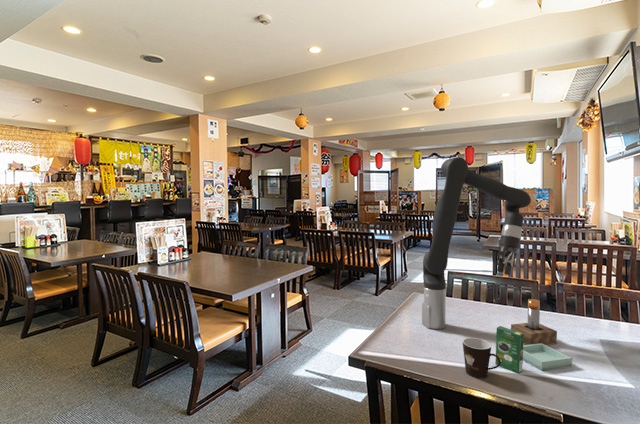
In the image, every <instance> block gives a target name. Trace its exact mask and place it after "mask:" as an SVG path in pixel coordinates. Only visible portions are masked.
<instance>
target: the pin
mask: <svg viewBox="0 0 640 424" xmlns="http://www.w3.org/2000/svg"><path fill="white" fill-rule="evenodd" d="M540 311H541V301H540V300H539V299H534V298H528V299H527V323H528V329H530V330H533V331H536V330H539V324H540V314H541V313H540Z"/></svg>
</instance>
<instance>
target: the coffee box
mask: <svg viewBox="0 0 640 424" xmlns="http://www.w3.org/2000/svg"><path fill="white" fill-rule="evenodd" d="M495 336H496V339H495V355H497V356H498V357H499V358H500V361H501V364H500V366H499V367H501V368H503V369H507V370H509V371H512V372H514V373H517V374H521V372H523V363H524V362H523V361H524V360H523V345H524V333H520V332H517V331H514V330H511V328H507V327H504V326H502V325H499V326H498V327H496V335H495ZM498 363H499V362H498V359H497V358H496V357H495V365H496V366H497V365H498Z"/></svg>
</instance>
